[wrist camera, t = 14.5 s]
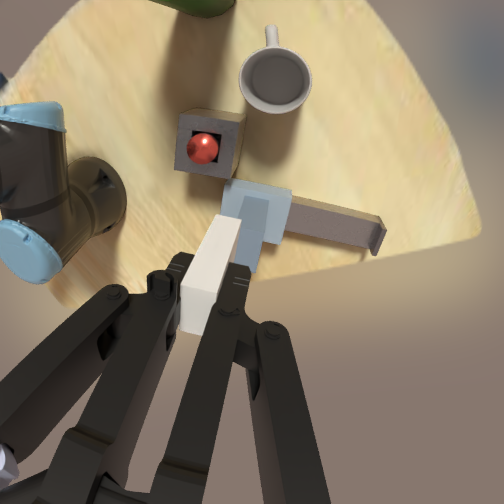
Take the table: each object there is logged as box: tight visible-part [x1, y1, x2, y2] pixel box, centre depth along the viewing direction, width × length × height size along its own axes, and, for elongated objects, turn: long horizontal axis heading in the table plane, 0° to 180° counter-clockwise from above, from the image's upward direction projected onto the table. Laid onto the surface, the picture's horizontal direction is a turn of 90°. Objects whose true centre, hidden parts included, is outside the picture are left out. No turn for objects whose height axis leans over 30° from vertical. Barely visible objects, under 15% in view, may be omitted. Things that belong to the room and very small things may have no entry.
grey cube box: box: [174, 108, 247, 179], centre depth 42 cm, size 8×8×8 cm
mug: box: [239, 25, 312, 114], centre depth 35 cm, size 12×8×11 cm
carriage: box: [220, 178, 292, 273], centre depth 44 cm, size 10×8×14 cm
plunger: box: [187, 132, 222, 164], centre depth 41 cm, size 4×4×9 cm
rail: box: [284, 195, 387, 256], centre depth 49 cm, size 26×5×5 cm, turn 80°
